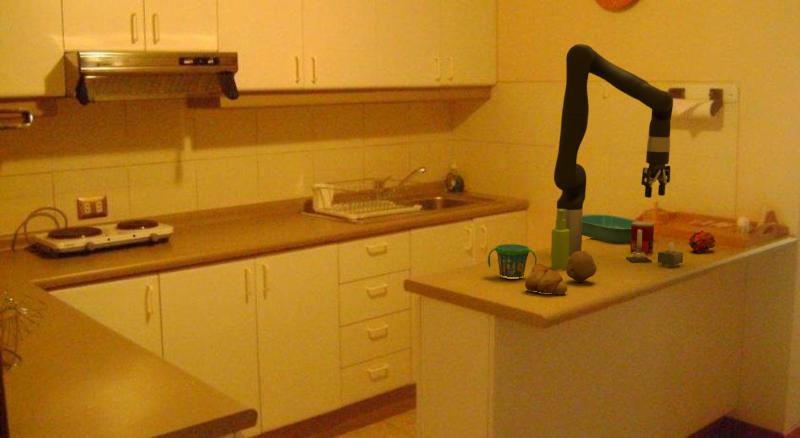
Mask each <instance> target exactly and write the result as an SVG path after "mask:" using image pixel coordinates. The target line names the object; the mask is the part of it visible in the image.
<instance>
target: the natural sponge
mask: <svg viewBox="0 0 800 438" xmlns="http://www.w3.org/2000/svg"><path fill="white" fill-rule="evenodd" d="M597 270H598V269H597V265H596V262H595V260H594V258H593V256H592V255H591V254H590V253H589V252H587V251H585V250H582V251H577V252H575V253H573V254H572V255H571V256H570V257H569V260H568V264H567V268H566V269H565V272H566V275H567V277H569V278H571V280H572V279H573V280H574V281H575V282H577V283H584V282H585V281H586V280H588V279H590V278H592V277H593V276H594V275H596V272H597Z"/></svg>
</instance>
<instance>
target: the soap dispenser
mask: <svg viewBox="0 0 800 438" xmlns="http://www.w3.org/2000/svg"><path fill="white" fill-rule="evenodd" d="M564 211H567V209H559V210H557V209H556V213H557V212H559V214H558V219H557V218H556V219H555V228H556V229H555V228H552V229H551V248H550V249H551V255H550V257H551V258H550V260H551V261H550V269H552V268H554V269H553V270H557V269H565V270H566V268H567V264H568V260H569V258H570V257H569V233H570V230H568V229H566V219H564Z"/></svg>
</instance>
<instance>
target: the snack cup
mask: <svg viewBox="0 0 800 438" xmlns="http://www.w3.org/2000/svg"><path fill="white" fill-rule="evenodd" d="M493 251H495V252H496V254H497V261H498V271H499V276H500V275H502V276H507V277H522V276H523V277H524V275H525V271H526V264H527V260H528V257H529V253H532V255H533V257H534V260H535V261H534V265H535V264H538V263H537V261H538V259H537V255H536V253H535V251H534V250H532V249H531V248H529V246H528V245H524V244H516V243H513V244H512V243H504V244H498V245H496V247H494V248H492V249H491V250H490V251H489V253H488V255H487V265H488V267H489V268H491V253H493Z"/></svg>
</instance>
